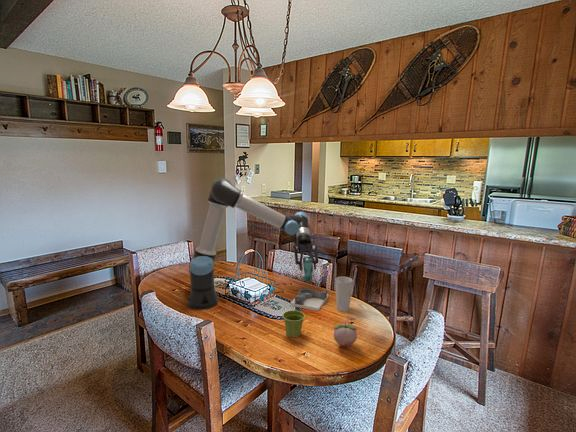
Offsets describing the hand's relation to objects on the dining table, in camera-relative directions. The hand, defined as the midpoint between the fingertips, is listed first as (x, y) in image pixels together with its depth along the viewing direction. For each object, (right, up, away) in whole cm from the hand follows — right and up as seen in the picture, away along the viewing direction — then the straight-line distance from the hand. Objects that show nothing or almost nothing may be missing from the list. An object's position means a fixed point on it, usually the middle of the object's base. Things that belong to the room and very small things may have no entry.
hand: (308, 275), depth 167 cm
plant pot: (-8, -20, -29) cm, 36 cm away
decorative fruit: (+12, -21, -38) cm, 45 cm away
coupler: (0, -3, +4) cm, 5 cm away
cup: (+17, -16, -6) cm, 24 cm away
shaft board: (+1, -14, +2) cm, 14 cm away
